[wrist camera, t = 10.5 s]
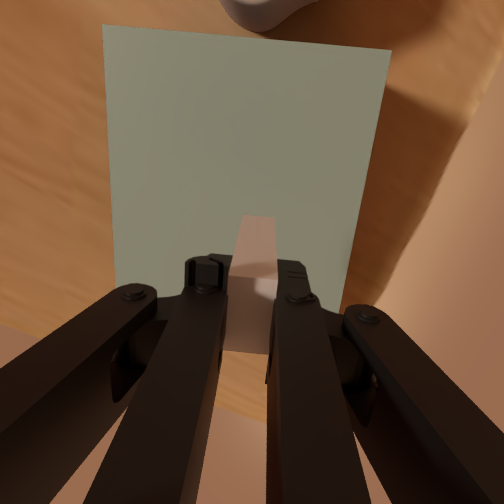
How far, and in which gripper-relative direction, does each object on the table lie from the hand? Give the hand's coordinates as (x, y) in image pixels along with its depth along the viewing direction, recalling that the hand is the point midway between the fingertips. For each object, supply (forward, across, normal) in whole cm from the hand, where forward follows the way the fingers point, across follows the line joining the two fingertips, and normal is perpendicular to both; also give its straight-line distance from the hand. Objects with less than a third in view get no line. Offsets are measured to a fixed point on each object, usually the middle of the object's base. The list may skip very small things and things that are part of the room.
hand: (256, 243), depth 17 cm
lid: (+7, -2, 0) cm, 8 cm away
